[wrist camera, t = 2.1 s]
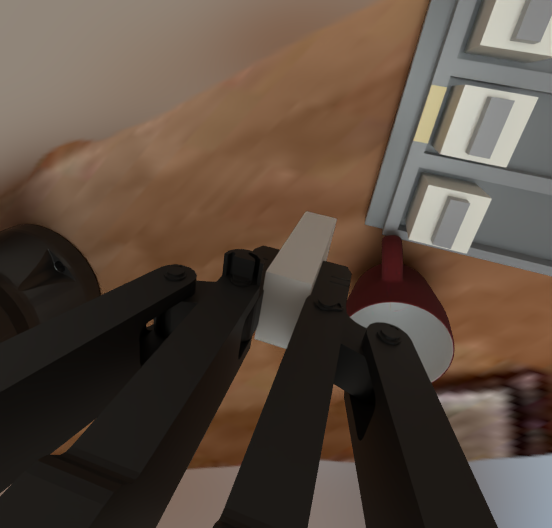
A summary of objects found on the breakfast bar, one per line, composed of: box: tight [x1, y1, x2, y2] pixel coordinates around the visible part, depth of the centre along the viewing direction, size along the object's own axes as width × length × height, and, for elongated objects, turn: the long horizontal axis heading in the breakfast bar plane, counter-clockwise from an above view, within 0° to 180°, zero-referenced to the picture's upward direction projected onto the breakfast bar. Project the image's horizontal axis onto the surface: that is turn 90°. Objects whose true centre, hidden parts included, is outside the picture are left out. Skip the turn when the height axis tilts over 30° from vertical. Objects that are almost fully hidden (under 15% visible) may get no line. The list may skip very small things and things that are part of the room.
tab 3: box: [405, 172, 492, 254], centre depth 26 cm, size 4×4×6 cm
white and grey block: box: [464, 0, 552, 63], centre depth 20 cm, size 4×4×6 cm
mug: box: [346, 235, 454, 383], centre depth 29 cm, size 11×8×10 cm
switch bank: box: [365, 0, 552, 276], centre depth 25 cm, size 18×18×4 cm
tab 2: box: [431, 85, 539, 168], centre depth 23 cm, size 4×4×6 cm
